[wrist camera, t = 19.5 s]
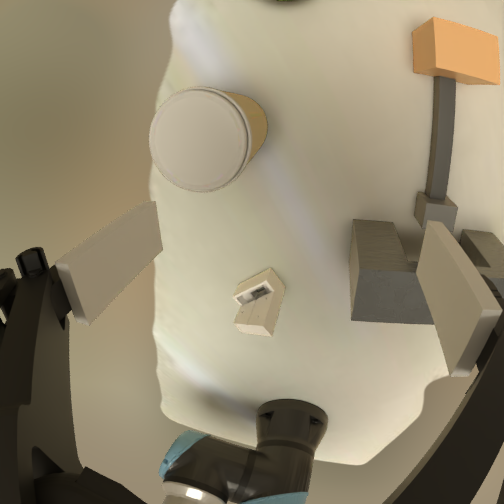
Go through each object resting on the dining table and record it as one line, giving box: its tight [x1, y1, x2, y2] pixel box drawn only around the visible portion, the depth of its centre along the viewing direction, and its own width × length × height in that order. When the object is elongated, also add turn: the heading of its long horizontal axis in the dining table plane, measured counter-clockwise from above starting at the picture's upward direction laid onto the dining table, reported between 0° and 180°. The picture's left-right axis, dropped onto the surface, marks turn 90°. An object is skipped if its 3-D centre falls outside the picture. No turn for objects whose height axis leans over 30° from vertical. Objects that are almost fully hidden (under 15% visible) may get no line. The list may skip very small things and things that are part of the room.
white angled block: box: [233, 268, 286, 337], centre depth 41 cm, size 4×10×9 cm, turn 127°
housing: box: [349, 219, 504, 325], centre depth 30 cm, size 6×20×12 cm, turn 93°
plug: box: [412, 17, 500, 232], centre depth 25 cm, size 22×7×8 cm, turn 2°
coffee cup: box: [149, 87, 268, 192], centre depth 29 cm, size 9×9×12 cm
